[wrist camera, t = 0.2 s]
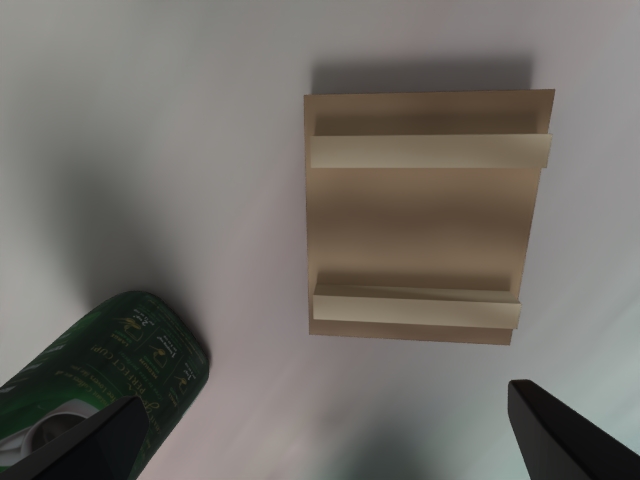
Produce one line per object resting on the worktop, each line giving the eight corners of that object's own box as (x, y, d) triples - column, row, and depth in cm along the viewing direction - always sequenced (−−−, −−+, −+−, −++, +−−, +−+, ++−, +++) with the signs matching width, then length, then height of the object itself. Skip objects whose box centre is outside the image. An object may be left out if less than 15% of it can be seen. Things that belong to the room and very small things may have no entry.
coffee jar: (77, 317, 27) (-473, 681, 9) (152, 271, 25) (-368, 621, 7) (155, 409, 29) (-174, 856, 11) (230, 373, 27) (-25, 847, 9)
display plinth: (494, 323, 23) (520, 361, 19) (314, 314, 24) (305, 348, 20) (530, 94, 19) (573, 85, 15) (310, 99, 20) (298, 91, 16)
